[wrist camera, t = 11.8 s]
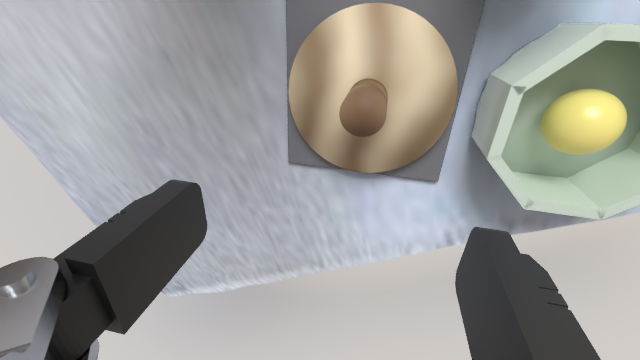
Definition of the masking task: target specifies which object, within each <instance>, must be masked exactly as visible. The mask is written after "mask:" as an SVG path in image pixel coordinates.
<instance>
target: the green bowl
mask: <svg viewBox="0 0 640 360" xmlns="http://www.w3.org/2000/svg"><path fill="white" fill-rule="evenodd" d="M579 89H599V90H603V91H606V92H609V93H611V94H613V95H614V96H616V97H617V98H618V99H619V100H620V101H621V102H622V103H623V105H624V107H625V109H626V113H627V123H626V126H625V129H624V131H623V133H622V134H621V136H620V137H619V138H618V139H617V140H616V141H615V142H614V143H613V144H611V145H610V146H608V147H607V148H605V149H603V150H600V151H598V152H595V153H591V154H585V155H572V154H566V153H563V152H560V151H558V150H556V149H554V148H553V147H551V146H550V145H549V144H548V143H547V142H546V141H545V139H544V138H543V136H542V133H541V127H540V126H541V119H542V116H543V114H544V112H545V110H546V109H547V107H548V106H549V105H550V104H551V103H552V102H553V101H554V100H556V99H557V98H559V97H560V96H562V95H564V94H566V93H568V92H571V91H575V90H579ZM471 137H472V138H473V140H474V141H475V143H476V144H477V145H478V147H479V148H480V150H481V151H482V153H483V154H484V156H485V157H486V159H487V160H488V162H489V163H490V164H491V166H492V167H493V168H494V170H495V171H496V172H497V174H498V175H499V176H500V178H501V179H502V181H503V182H504V183H505V185H506V186H507V187H508V189H509V190H510V191H511V193H512V194H513V195H514V197H515V198H516V199H517V201H518V202H519V203H520V205H521V206H522V208H523V209H526V210H533V211H541V212H548V213H555V214H562V215H570V216H577V217H584V218H591V219H599V220H602V219H605V218H607V217H610V216H612V215H615V214H617V213H620V212H622V211H624V210H627V209H629V208H632V207H634V206H637V205H639V204H640V25H637V24H612V23H561V24H559V25H558V26H556V27H555V28H554V29H552V30H551V31H549V32H548V33H547V34H545V35H543V36H541V37H539V38H537V39H535V40H533V41H531V42H529V43H528V44H526V45H525V46H523V47H521V48H520V49H519V50H517V51H516V52H515V53H513V54H512V55H511V56H510V57H509V58H508V59H507V60H506V61H504V62H503V63H502V64H501V65H500V67H498V68H497V69H495V70H494V71H493V72H491V73H490V74H489V78H488V81H487V84H486V86H485V88H484V90H483V92H482V94H481V96H480V99H479V101H478V104H477V109H476V114H475V125H474V129H473V132H472V135H471Z"/></svg>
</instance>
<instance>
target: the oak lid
mask: <svg viewBox="0 0 640 360" xmlns="http://www.w3.org/2000/svg"><path fill="white" fill-rule="evenodd" d="M457 83H458V82H457V72H456V67H455V63H454V59H453V56H452V54H451V52H450V49H449V47H448V45H447V44H446V42H445V40H444V39H443V37H442V36H441V34H440V33H439V32H438V31H437V30H436V28H435V27H434V26H433V25H431V24H430V23H429V22H428V21H427V20H426V19H424V18H423V17H421V16H420V15H418V14H417V13H415V12H413V11H411V10H408V9H406V8H404V7H400V6H397V5H393V4H386V3H364V4H359V5H354V6H351V7H348V8H345V9H343V10H340V11H338V12H337V13H335V14H333V15H331V16H329V17H328V18H327V19H325V20H324V21H322V22H321V23H320V24H319V25H318V26H317V27H316V28H315V29H314V30H313V31H312V32H311V33H310V34H309V35H308V37H307V38H306V39H305V40H304V42H303V44H302V45H301V47H300V49H299V50H298V53H297V55H296V57H295V59H294V62H293V66H292V69H291V73H290V79H289V103H290V108H291V112H292V115H293V118H294V121H295V124H296V126H297V128H298V130H299V132H300V133H301V135H302V137H303V138H304V140H305V141H306V142H307V143H308V145H309V146H310V147H311V148H312V149H313V150H314V151H315V152H316V153H317V154H319V155H320V156H321V157H323V158H324V159H325V160H327V161H329V162H331V163H332V164H334V165H337V166H339V167H341V168H344V169H347V170H351V171H356V172H365V173H376V172H384V171H390V170H393V169H397V168H400V167H402V166H404V165H407V164H409V163H411V162H412V161H414V160H416V159H418V158H419V157H420V156H422V155H423V154H424V153H426V152H427V151H428V150H429V149H430V148H431V147H432V146H433V145H434V144H435V143H436V142H437V140H438V139H439V138H440V137H441V135H442V134H443V132H444V130H445V129H446V127H447V125H448V123H449V121H450V119H451V117H452V114H453V110H454V107H455V103H456V97H457Z"/></svg>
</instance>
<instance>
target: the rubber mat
mask: <svg viewBox="0 0 640 360" xmlns="http://www.w3.org/2000/svg"><path fill="white" fill-rule="evenodd" d="M484 1H485V0H286V17H287V87H288V156H289V162H291V163H299V164H307V165H315V166H322V167H330V168H338V169H344V168H341V167H339V166H337V165H334V164H332V163H331V162H329V161H327V160H325V159H324V158H323V157H321V156H320V155H319V154H317V153H316V152H315V151H314V150H313V149H312V148H311V147H310V146H309V145H308V143H307V142H306V141H305V140H304V138H303V137H302V135H301V133H300V132H299V130H298V128H297V126H296V124H295V121H294V118H293V115H292V112H291V108H290V103H289V79H290V73H291V69H292V66H293V62H294V59H295V57H296V55H297V53H298V50H299V49H300V47H301V45H302V44H303V42H304V40H305V39H306V38H307V37H308V35H309V34H310V33H311V32H312V31H313V30H314V29H315V28H316V27H317V26H318V25H319V24H320V23H321V22H322V21H324V20H325V19H327V18H328V17H329V16H331V15H333V14H335V13H337V12H338V11H340V10H343V9H345V8H348V7H351V6H354V5H359V4H364V3H386V4H393V5H397V6H400V7H404V8H406V9H408V10H411V11H413V12H415V13H417V14H418V15H420V16H421V17H423V18H424V19H426V20H427V21H428V22H429V23H430V24H431V25H433V26H434V27H435V28H436V30H437V31H438V32H439V33H440V34H441V36H442V37H443V39H444V40H445V42H446V44H447V45H448V47H449V49H450V52H451V54H452V56H453V59H454V63H455V67H456V72H457V82H458V83H457V97H456V103H455V107H454V110H453V114H452V117H451V119H450V121H449V123H448V125H447V127H446V129H445V130H444V132H443V134H442V135H441V137H440V138H439V139H438V140H437V142H436V143H435V144H434V145H433V146H432V147H431V148H430V149H429V150H428V151H427V152H426V153H424V154H423V155H422V156H420V157H419V158H418V159H416V160H414V161H412V162H411V163H409V164H407V165H404V166H402V167H400V168H397V169H393V170H390V171H384V172H376V173H377V174H384V175H392V176H400V177H407V178H415V179H423V180H431V181H438V179H439V175H440V171H441V167H442V163H443V159H444V156H445V152H446V148H447V144H448V140H449V136H450V132H451V129H452V125H453V121H454V117H455V113H456V109H457V105H458V102H459V98H460V94H461V90H462V86H463V82H464V78H465V75H466V71H467V67H468V63H469V59H470V55H471V51H472V48H473V44H474V40H475V36H476V32H477V28H478V24H479V20H480V17H481V13H482V9H483V5H484ZM346 170H347V169H346Z"/></svg>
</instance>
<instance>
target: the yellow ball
mask: <svg viewBox="0 0 640 360" xmlns="http://www.w3.org/2000/svg"><path fill="white" fill-rule="evenodd" d="M626 123H627V113H626V109H625V107H624V105H623V103H622V102H621V101H620V100H619V99H618V98H617V97H616V96H614V95H613V94H611V93H609V92H606V91H603V90H599V89H579V90H575V91H571V92H568V93H566V94H564V95H562V96H560V97H559V98H557V99H556V100H554V101H553V102H552V103H551V104H550V105H549V106H548V107H547V109H546V110H545V112H544V114H543V116H542V119H541V126H540V127H541V133H542V136H543V138H544V139H545V141H546V142H547V143H548V144H549V145H550V146H551V147H553V148H554V149H556V150H558V151H560V152H563V153H566V154H572V155H585V154H591V153H595V152H598V151H600V150H603V149H605V148H607V147H608V146H610V145H611V144H613V143H614V142H615V141H616V140H617V139H618V138H619V137H620V136H621V134H622V133H623V131H624V129H625V126H626Z"/></svg>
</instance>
